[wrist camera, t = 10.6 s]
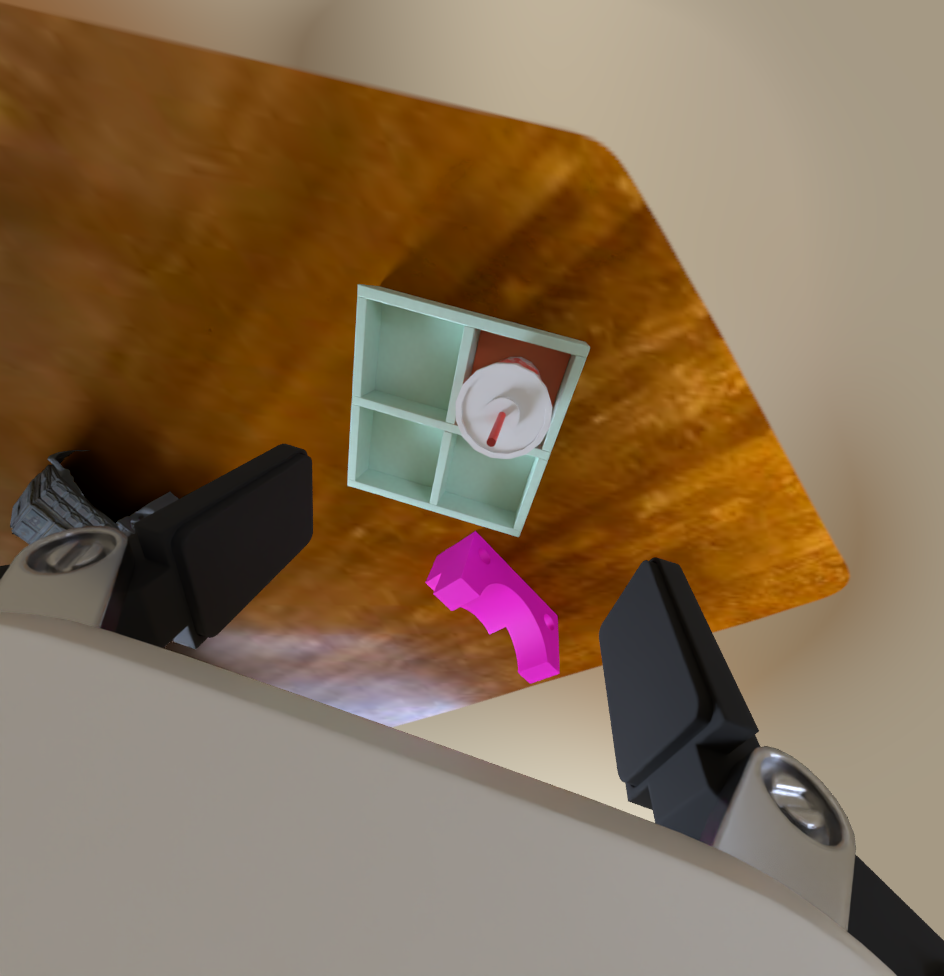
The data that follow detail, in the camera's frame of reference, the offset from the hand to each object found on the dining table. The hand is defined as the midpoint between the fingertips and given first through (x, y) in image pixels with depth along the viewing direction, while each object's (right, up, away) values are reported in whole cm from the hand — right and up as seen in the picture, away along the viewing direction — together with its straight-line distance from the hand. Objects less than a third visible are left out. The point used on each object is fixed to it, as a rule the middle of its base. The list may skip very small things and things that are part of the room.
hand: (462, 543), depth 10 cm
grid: (-1, +8, +23) cm, 24 cm away
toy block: (+3, -10, +32) cm, 34 cm away
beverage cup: (+4, +10, +20) cm, 23 cm away
